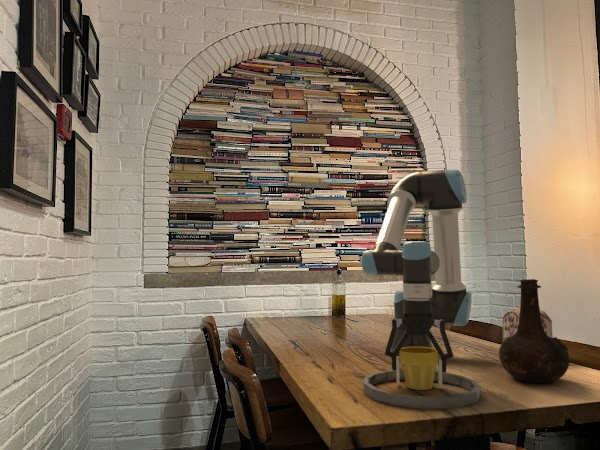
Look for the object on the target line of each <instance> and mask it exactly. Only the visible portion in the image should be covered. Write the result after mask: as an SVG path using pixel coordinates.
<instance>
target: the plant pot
mask: <svg viewBox="0 0 600 450" xmlns="http://www.w3.org/2000/svg"><path fill="white" fill-rule="evenodd" d="M439 356H440V355H439V353H438V351H437V350H436V349H435V347H433V348H429V347H404V348H401V350H400V351H399V355H398V357H399V364H401V367H402V370H403V372H404V376H405V379H404V380H405V384H406V387H407V388H409V389H410V390H411V389H412V390H417V391H428V390H431V389H433V387H434V382H435V381H434V375H435V371H436V368H437V365H438V362H439V358H440V357H439Z"/></svg>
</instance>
